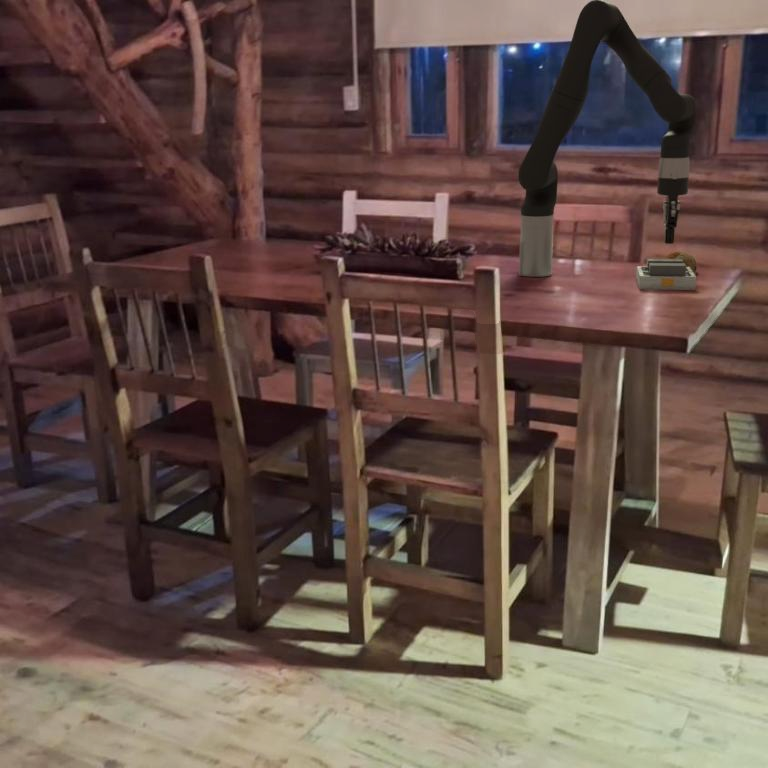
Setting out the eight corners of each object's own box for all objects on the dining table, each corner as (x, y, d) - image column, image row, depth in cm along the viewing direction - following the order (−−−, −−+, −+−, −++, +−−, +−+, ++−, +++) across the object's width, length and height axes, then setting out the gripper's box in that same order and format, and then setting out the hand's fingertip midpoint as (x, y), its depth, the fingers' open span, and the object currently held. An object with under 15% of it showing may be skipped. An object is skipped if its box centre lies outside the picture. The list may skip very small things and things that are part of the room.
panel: (648, 284, 232) (650, 265, 230) (648, 281, 235) (649, 262, 234) (684, 284, 230) (686, 265, 228) (683, 281, 233) (684, 263, 232)
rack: (639, 289, 230) (640, 267, 228) (636, 278, 244) (637, 257, 243) (695, 290, 227) (697, 267, 225) (688, 279, 242) (690, 257, 240)
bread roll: (688, 288, 247) (703, 263, 244) (655, 272, 249) (669, 247, 246) (688, 282, 256) (703, 258, 253) (656, 266, 258) (670, 242, 255)
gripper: (656, 174, 231) (652, 239, 236) (660, 177, 219) (656, 247, 224) (686, 173, 229) (681, 239, 235) (691, 177, 217) (686, 247, 222)
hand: (669, 243), depth 229 cm, fingers closed
